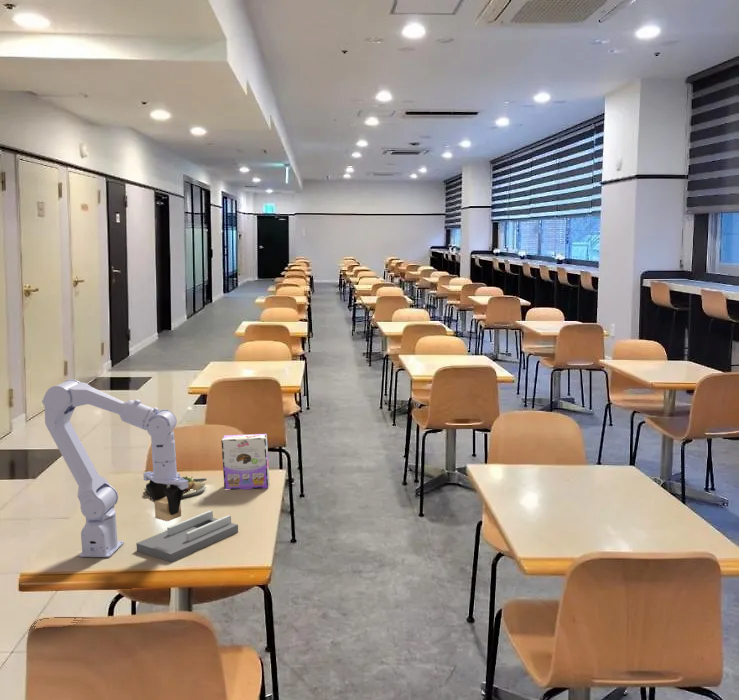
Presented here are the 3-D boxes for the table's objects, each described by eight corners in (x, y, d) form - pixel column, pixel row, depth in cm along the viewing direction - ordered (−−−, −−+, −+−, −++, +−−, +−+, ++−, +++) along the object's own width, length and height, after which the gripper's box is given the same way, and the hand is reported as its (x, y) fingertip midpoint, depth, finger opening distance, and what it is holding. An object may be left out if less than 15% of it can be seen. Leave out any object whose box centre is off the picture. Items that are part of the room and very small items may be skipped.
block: (169, 512, 204) (168, 495, 203) (181, 516, 201) (180, 499, 201) (155, 518, 200) (154, 500, 200) (167, 521, 198) (166, 504, 197)
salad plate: (196, 478, 261) (195, 464, 261) (220, 491, 247) (219, 477, 246) (138, 490, 250) (137, 476, 249) (160, 505, 236) (159, 490, 235)
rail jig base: (204, 522, 220) (203, 508, 219) (238, 531, 213) (237, 517, 212) (136, 550, 202) (135, 535, 201) (171, 561, 194) (170, 546, 194)
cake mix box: (269, 483, 253) (267, 432, 251) (268, 489, 247) (265, 437, 245) (226, 484, 253) (223, 434, 250) (223, 490, 247) (220, 439, 244)
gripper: (196, 459, 198) (199, 512, 200) (157, 451, 206) (160, 501, 208) (174, 467, 192) (177, 521, 194) (135, 458, 200) (139, 510, 202)
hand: (167, 511), depth 201 cm, fingers closed on block, 4 cm apart
